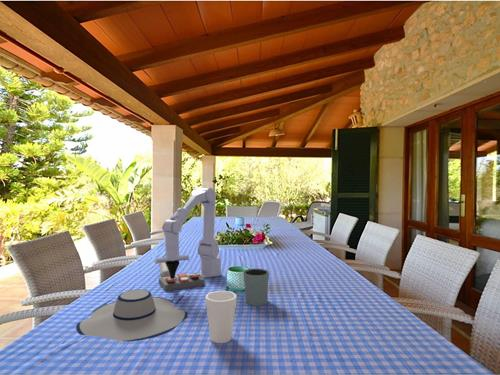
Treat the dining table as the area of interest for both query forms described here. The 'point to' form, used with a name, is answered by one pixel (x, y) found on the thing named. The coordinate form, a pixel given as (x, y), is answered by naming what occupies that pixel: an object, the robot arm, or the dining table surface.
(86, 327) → the sun hat
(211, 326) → the foam cup
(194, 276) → the rocker
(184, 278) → the rocker
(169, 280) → the rocker
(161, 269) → the tube
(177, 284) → the switch panel
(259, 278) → the grey-green pot
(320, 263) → the dining table surface
